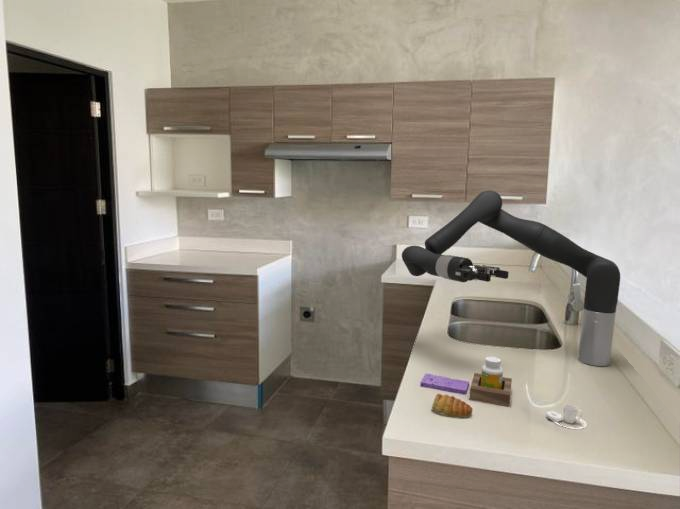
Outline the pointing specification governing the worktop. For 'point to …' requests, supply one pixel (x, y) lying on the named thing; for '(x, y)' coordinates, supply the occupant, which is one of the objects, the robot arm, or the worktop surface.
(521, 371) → the worktop surface
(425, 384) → the sponges
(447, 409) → the pastry
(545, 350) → the worktop surface
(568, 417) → the teacup and saucer
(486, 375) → the supplement bottle
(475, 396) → the bottle holder
